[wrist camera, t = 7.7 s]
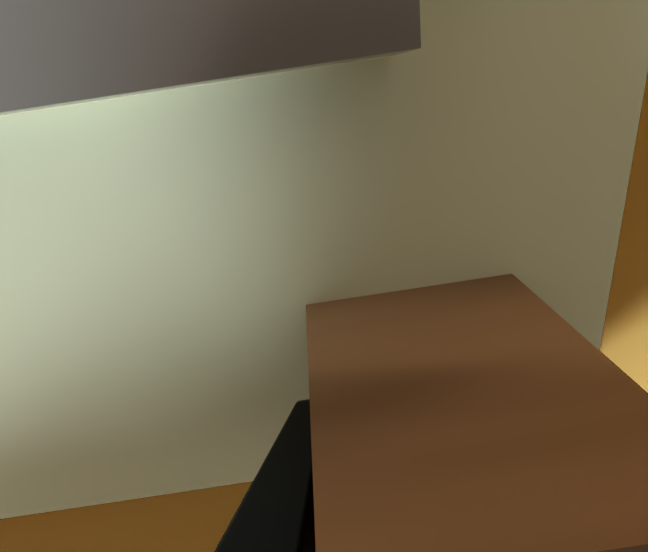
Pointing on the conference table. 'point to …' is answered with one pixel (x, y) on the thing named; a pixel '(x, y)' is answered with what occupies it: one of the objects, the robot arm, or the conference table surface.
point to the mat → (291, 233)
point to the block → (470, 426)
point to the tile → (182, 44)
